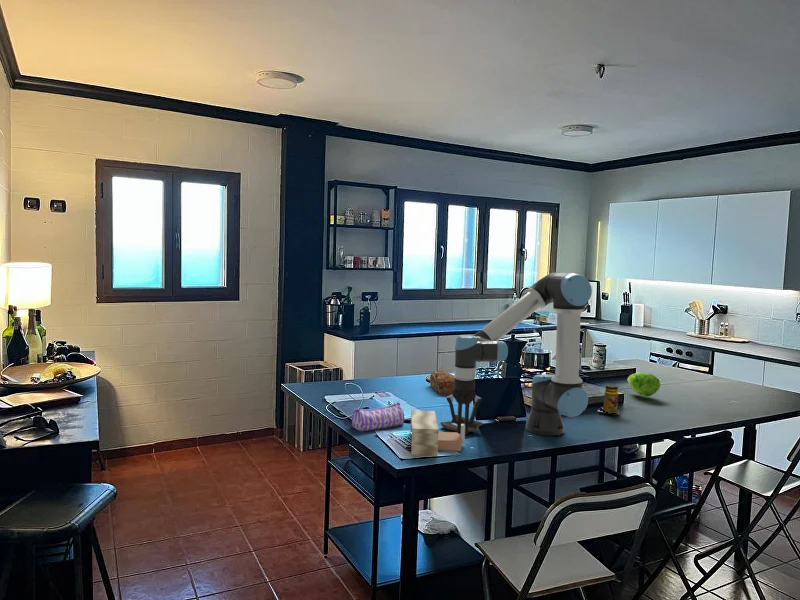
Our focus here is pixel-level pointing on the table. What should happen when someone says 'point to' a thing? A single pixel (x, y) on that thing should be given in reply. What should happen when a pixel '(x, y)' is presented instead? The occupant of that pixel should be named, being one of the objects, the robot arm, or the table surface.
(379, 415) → the pencil case
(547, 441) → the table surface
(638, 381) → the green mango
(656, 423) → the table surface
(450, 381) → the bread
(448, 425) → the pottery fragment
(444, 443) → the tile
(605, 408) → the condiment
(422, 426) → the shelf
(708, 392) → the table surface
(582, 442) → the table surface
